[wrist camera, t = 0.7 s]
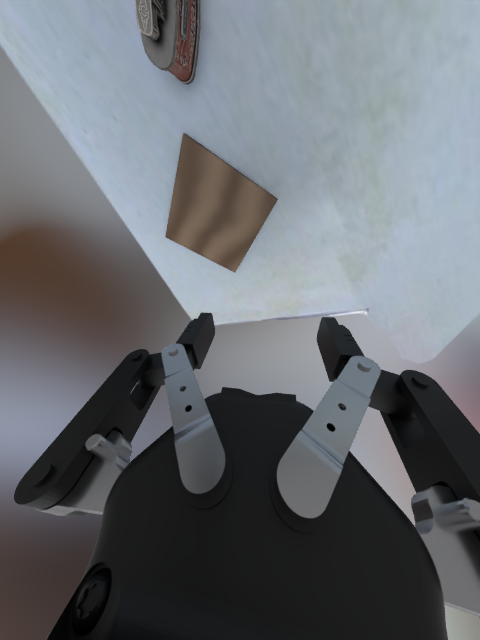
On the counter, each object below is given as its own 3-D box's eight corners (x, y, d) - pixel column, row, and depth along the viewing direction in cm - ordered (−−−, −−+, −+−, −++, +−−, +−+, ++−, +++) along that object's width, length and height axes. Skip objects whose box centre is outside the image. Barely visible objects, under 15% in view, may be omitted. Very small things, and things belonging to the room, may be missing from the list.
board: (166, 235, 35) (165, 237, 34) (185, 133, 24) (183, 133, 23) (235, 270, 39) (235, 272, 39) (277, 198, 28) (277, 199, 28)
